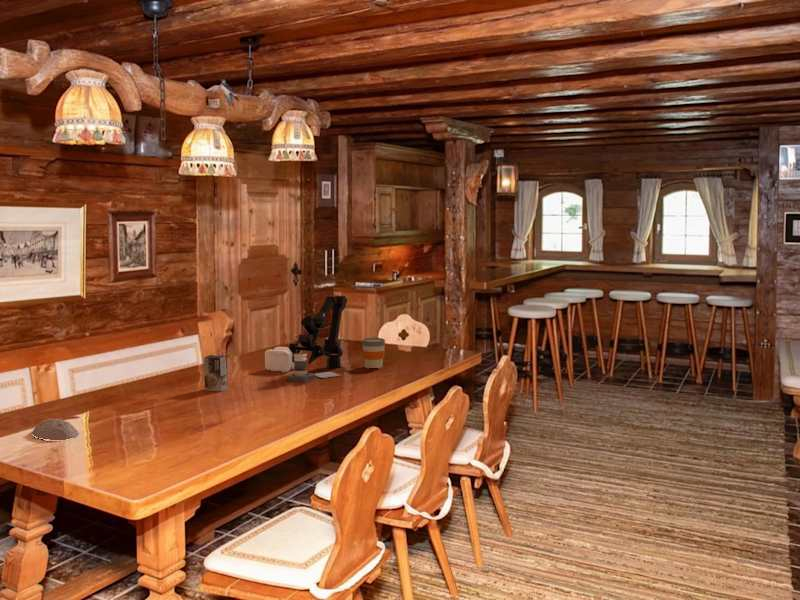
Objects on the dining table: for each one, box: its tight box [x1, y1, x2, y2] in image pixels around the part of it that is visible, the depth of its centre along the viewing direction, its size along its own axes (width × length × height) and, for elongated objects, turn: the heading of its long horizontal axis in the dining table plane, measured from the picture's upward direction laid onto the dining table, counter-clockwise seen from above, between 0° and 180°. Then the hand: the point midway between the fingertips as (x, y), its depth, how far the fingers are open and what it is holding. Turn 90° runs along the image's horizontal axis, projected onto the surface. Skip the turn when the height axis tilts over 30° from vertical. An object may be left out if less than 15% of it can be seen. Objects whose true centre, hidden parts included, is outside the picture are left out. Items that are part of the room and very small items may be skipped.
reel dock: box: [285, 372, 316, 383], centre depth 390 cm, size 10×10×2 cm
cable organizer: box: [264, 346, 294, 373], centre depth 414 cm, size 15×11×12 cm
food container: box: [31, 417, 80, 440], centre depth 294 cm, size 16×25×7 cm, turn 45°
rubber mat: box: [314, 371, 341, 379], centre depth 400 cm, size 11×11×1 cm
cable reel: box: [293, 352, 308, 377], centre depth 390 cm, size 7×7×13 cm
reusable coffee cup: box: [361, 337, 386, 369], centre depth 421 cm, size 13×13×15 cm
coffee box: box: [203, 354, 229, 392], centre depth 368 cm, size 9×6×16 cm
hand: (300, 362), depth 390 cm, fingers open, 9 cm apart
